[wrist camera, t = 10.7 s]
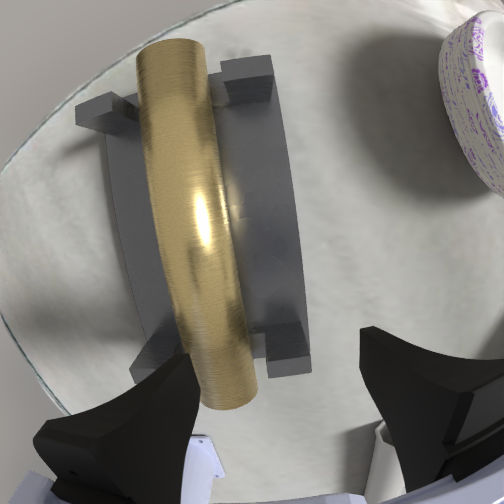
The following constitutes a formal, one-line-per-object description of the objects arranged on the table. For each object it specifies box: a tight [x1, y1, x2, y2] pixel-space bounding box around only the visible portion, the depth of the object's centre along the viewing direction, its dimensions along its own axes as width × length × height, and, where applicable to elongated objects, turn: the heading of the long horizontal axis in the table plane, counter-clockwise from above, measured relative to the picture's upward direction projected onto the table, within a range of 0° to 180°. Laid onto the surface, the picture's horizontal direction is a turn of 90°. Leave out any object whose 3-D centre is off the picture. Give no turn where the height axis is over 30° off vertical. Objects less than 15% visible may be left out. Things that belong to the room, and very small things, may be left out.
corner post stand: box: [75, 55, 312, 384], centre depth 17 cm, size 12×20×6 cm, turn 8°
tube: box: [364, 420, 405, 504], centre depth 24 cm, size 5×5×25 cm
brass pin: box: [136, 38, 258, 410], centre depth 15 cm, size 21×4×4 cm, turn 8°
